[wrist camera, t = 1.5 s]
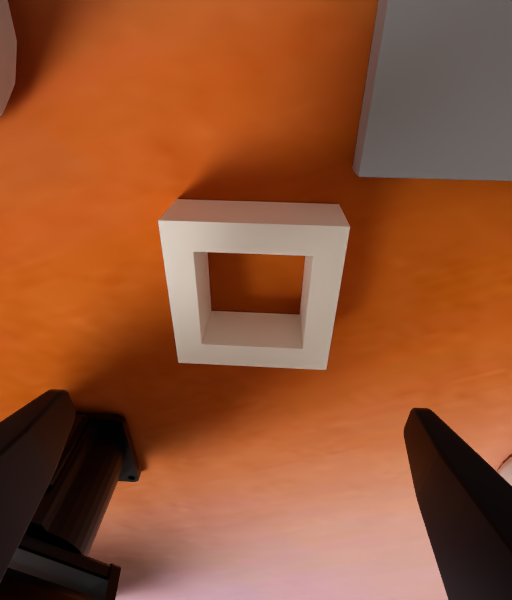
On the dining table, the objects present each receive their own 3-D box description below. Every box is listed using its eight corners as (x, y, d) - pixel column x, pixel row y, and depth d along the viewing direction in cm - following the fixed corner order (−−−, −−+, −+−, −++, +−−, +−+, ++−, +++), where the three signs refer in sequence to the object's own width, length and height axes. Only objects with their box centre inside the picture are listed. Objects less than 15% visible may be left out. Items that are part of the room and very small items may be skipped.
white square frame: (320, 334, 17) (326, 370, 15) (190, 328, 17) (178, 362, 15) (339, 204, 13) (349, 226, 11) (176, 199, 14) (158, 220, 12)
